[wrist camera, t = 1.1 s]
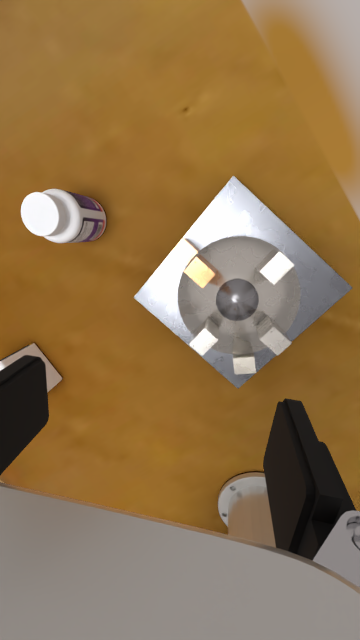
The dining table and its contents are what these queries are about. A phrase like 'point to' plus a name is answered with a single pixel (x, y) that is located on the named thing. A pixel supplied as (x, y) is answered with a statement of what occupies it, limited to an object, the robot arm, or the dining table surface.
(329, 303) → the base plate
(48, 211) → the pill bottle
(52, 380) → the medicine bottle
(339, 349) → the dining table surface
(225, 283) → the round disc with cubes
